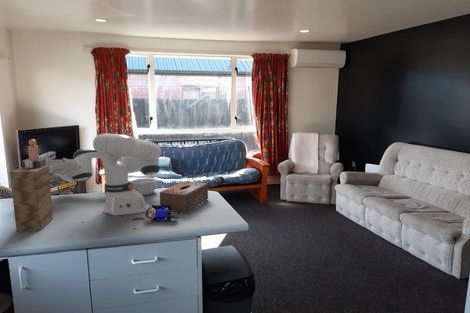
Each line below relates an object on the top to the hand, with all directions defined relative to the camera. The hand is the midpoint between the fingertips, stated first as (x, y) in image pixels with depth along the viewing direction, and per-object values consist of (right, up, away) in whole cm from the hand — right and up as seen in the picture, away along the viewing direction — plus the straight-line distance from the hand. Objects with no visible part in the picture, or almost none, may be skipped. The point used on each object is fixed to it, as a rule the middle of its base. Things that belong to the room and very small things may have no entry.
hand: (54, 159), depth 181 cm
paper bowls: (+40, -21, +27) cm, 53 cm away
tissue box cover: (+68, -25, +4) cm, 73 cm away
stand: (+5, -29, -25) cm, 39 cm away
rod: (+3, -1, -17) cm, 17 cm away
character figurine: (+61, -29, -19) cm, 70 cm away
